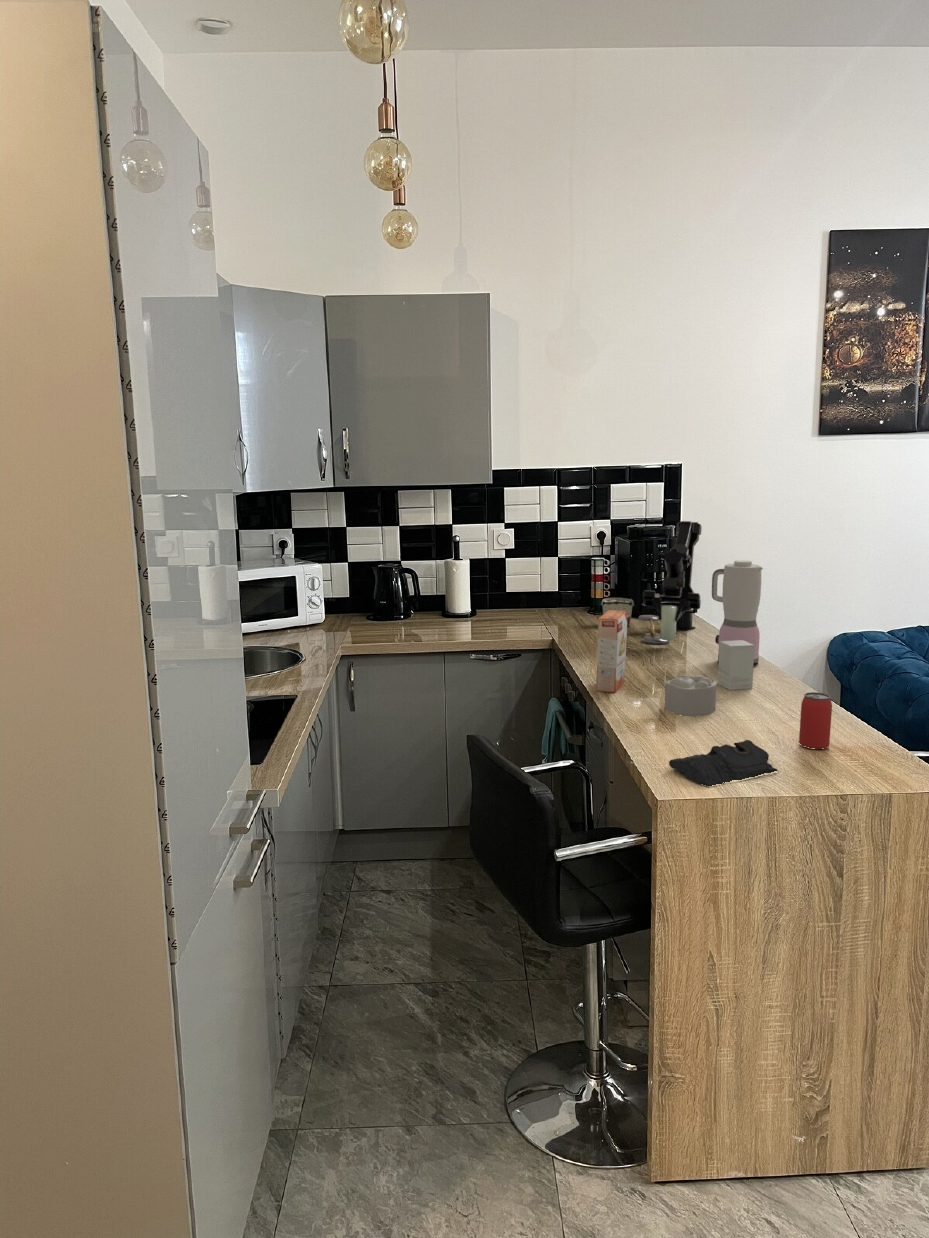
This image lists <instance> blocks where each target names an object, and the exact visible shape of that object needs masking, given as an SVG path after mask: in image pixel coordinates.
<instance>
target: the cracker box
mask: <svg viewBox="0 0 929 1238" xmlns="http://www.w3.org/2000/svg"><path fill="white" fill-rule="evenodd" d="M627 615H628V612H626V611H614V610H609V611H607V612H606V613H605V614H604V615H603V614H602V615H601V616H600V617H598V624H597V625H598V626H597V648H596V649H597V653H596V654H597V655H596V657H597V658H596V676H595V677H596V682H595V691H596V692H601V691H602V693H612V694H616V693H617V691H618V690H619V689H620V687H621V686H622V685H623V684H624V682H625V681H626V680H625V679H626V660H627V659H626V655H627V654H626V653H627V652H626V651H627V635H628V634H627V632H628V631H627V630H628V627H627Z"/></svg>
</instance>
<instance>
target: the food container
mask: <svg viewBox="0 0 929 1238" xmlns="http://www.w3.org/2000/svg"><path fill="white" fill-rule="evenodd" d="M600 606H602V615H604V614H605V613H606V612H607V611H609V610H614V611H626V612H628V615H627V626H630V627H631V620H632V619H631V618H632V613H633V612H632V611H633V607H635V603H634V600H633V599H629V598H623V597H607V598H603V599H602V601H600Z"/></svg>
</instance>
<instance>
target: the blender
mask: <svg viewBox="0 0 929 1238" xmlns="http://www.w3.org/2000/svg"><path fill="white" fill-rule="evenodd" d="M763 569H764V568H763V567H762V566H761V565H759V564H755V563H754V564H753V562H752V561H751V560H747V559H746V560H745V559H738V560H737V559H735V560H734V562H733V563H725V565H724V568H718V569H717V568H716V570H714V571H713V573H712V577H711V598H712V599H713V600H714V601H716V602H719V603H722V606H723V622H722V624H721V626H720V628H719V630H718V631H719V633H718V634H717V635H716V636H715V640H714V642H715V644H717V645H718V654H717V661H718V664H719V648H720V641H734V640H744V641H746V642H748V643H750V644H753V645H755V646H754V664H757V665H758V664H759V662H760V661H759V660H760V655H759V654H760V653H759V651H760V638H761V636H760V635H761V633H760V628H759V626H758V624H757V615H758V611H759V606H760V603H761V595H762V571H763ZM720 575H723V578H722V596H720V595H718V581H719V576H720Z"/></svg>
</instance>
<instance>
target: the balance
mask: <svg viewBox="0 0 929 1238" xmlns="http://www.w3.org/2000/svg"><path fill="white" fill-rule="evenodd" d="M638 620H640V621H645V622H646V621H647V622H649V624H650V626H649V627H650V632H645V633H644V636H643V638H642V641H643V643H644V644H647V643H649V644H648V645H656V646H657V645H661V646H662V645H668V644H670V643H671V641H667V640H661V639H660V633H658V632H656V631H655V628H656V627H655V625H654V622H655V621H656V622H657V621H660V620H659V615H653V614H642V615H639V616H638Z"/></svg>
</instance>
